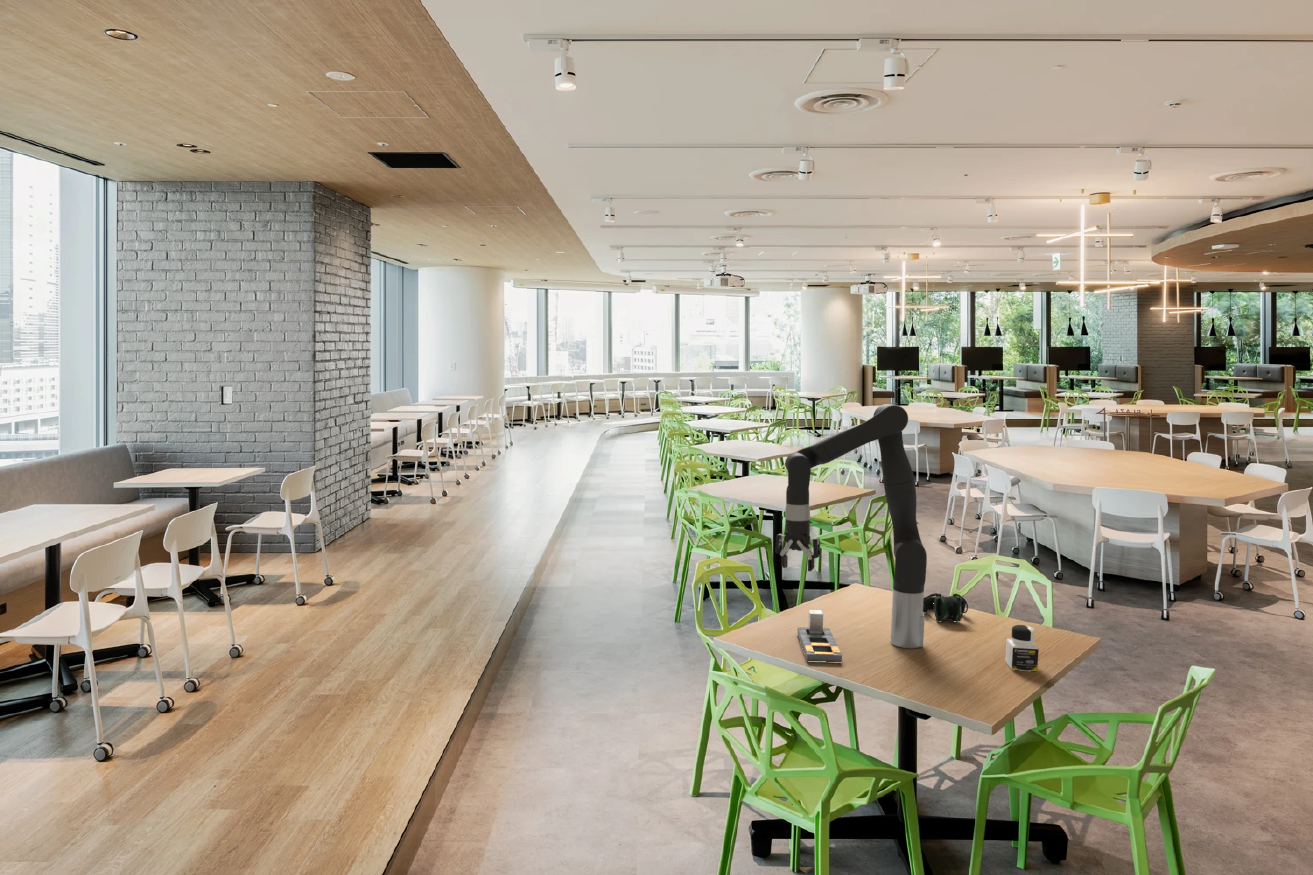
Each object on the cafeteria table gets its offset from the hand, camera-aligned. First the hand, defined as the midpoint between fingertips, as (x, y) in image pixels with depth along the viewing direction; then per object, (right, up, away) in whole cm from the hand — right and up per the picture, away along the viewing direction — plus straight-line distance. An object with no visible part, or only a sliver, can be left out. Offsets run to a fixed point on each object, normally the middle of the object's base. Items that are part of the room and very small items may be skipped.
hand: (797, 569), depth 265 cm
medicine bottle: (+62, -26, -18) cm, 69 cm away
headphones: (+55, -22, +30) cm, 66 cm away
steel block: (+6, -23, +3) cm, 24 cm away
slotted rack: (+6, -24, -5) cm, 25 cm away
